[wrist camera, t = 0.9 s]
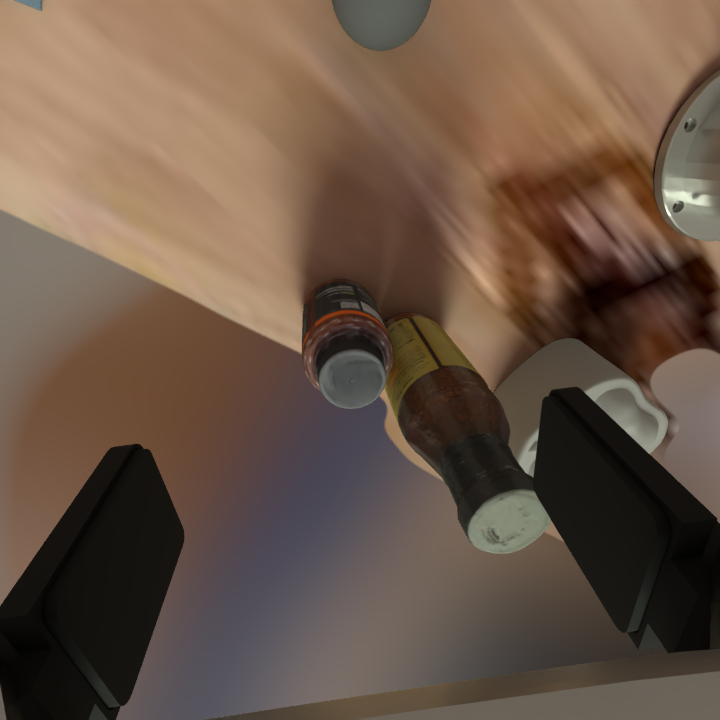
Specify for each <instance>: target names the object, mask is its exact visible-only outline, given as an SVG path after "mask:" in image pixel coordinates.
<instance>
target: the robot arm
mask: <svg viewBox="0 0 720 720" xmlns="http://www.w3.org/2000/svg"><path fill="white" fill-rule="evenodd" d="M654 189H655V198H656V202H657V205H658V209H659V211H660V213H661V215H662V216H663V218H664V220H665V221H666V222H667V223H668V224H669V225H670V226H671V227H672V228H673V230H675V231H677V232H679V233H680V234H682V235H684V236H687V237H691V238H694V239H698V240H704V241H720V69H719V70H718V71H717V72H715V73H714V74H712V75H711V76H710V77H708V78H707V79H706V80H705V81H704V82H703V83H702V84H701V85H700V86H699V87H698V88H697V89H696V90H695V91H694V92H693V93H692V94H691V96H690V97H689V98H688V99H687V101H686V102H685V103H684V104H683V106H682V107H681V108H680V110H679V111H678V113H677V115H676V116H675V118H674V119H673V121H672V123H671V124H670V126H669V128H668V130H667V133H666V135H665V137H664V139H663V142H662V144H661V147H660V151H659V154H658V158H657V161H656V167H655V176H654ZM533 487H534V491H535V493H536V496H537V497H538V499H539V501H540V502H541V504H542V506H543V507H544V509H545V511H546V512H547V514H548V516H549V517H550V519H551V521H552V522H553V524H554V525H555V527H556V529H557V530H558V532H559V534H560V535H561V537H562V539H563V540H564V542H565V544H566V545H567V547H568V548H569V550H570V552H571V553H572V555H573V557H574V558H575V560H576V561H577V563H578V565H579V567H580V568H581V570H582V572H583V573H584V575H585V576H586V578H587V580H588V581H589V583H590V585H591V586H592V588H593V590H594V591H595V593H596V595H597V596H598V598H599V599H600V601H601V603H602V604H603V606H604V608H605V609H606V611H607V613H608V614H609V616H610V617H611V619H612V621H613V623H614V624H615V625H616V627H617V628H618V629H619V630H620V631H621V632H623V633H625V632H627V633H628V634H629V636H630V637H631V639H632V641H633V642H634V644H635V645H636V647H637V649H638V650H640V649H647V648H653V647H660V646H664V648H665V649H666V651H667V652H668V653H667V654H659V655H651V656H643V657H635V658H626V659H618V660H610V661H602V662H594V663H586V664H580V665H572V666H565V667H558V668H551V669H544V670H537V671H530V672H523V673H516V674H509V675H502V676H495V677H488V678H480V679H473V680H467V681H459V682H453V683H446V684H439V685H432V686H425V687H418V688H411V689H404V690H398V691H391V692H384V693H378V694H371V695H364V696H357V697H350V698H343V699H337V700H330V701H323V702H316V703H310V704H303V705H297V706H289V707H283V708H276V709H270V710H263V711H257V712H250V713H243V714H237V715H230V716H224V717H217V718H211V719H204V720H720V523H718V522H717V518H716V517H715V516H714V515H713V514H712V513H711V512H710V511H709V510H708V509H707V508H706V507H705V506H704V505H702V504H701V503H700V502H699V501H698V500H697V499H696V498H695V497H694V496H693V495H692V494H691V493H690V492H689V491H688V490H687V489H686V488H685V487H684V486H682V485H681V484H680V483H679V482H678V481H677V480H676V479H675V478H674V477H673V476H672V475H671V474H670V473H669V472H668V471H667V470H666V469H665V468H664V467H663V466H661V465H660V464H659V463H658V462H657V461H656V460H655V459H654V458H653V457H652V456H651V455H650V454H649V453H648V452H647V451H646V450H645V449H644V448H643V447H641V446H640V445H639V444H638V443H637V442H636V441H635V440H634V439H633V438H632V437H631V436H630V435H629V434H628V433H627V432H626V431H625V430H624V429H623V428H621V427H620V426H619V425H618V424H617V423H616V422H615V421H614V420H613V419H612V418H611V417H610V416H609V415H608V414H607V413H606V412H605V411H604V410H603V409H602V408H600V407H599V406H598V405H597V404H596V403H595V402H594V401H593V400H592V399H591V398H590V397H589V396H588V395H587V394H586V393H585V392H584V391H583V390H582V389H580V388H579V387H568V388H560V389H553V390H551V391H550V393H549V396H546V397H544V398H543V401H542V407H541V416H540V424H539V433H538V442H537V450H536V459H535V467H534V476H533ZM183 543H184V530H183V527H182V524H181V522H180V520H179V517H178V515H177V513H176V510H175V508H174V505H173V503H172V500H171V498H170V496H169V493H168V491H167V489H166V486H165V484H164V482H163V479H162V477H161V474H160V472H159V470H158V467H157V465H156V463H155V460H154V458H153V456H152V453H151V451H150V450H149V449H143V447H142V446H141V445H140V444H132V445H125V446H117V447H112V448H110V449H109V450H108V451H107V453H106V454H105V456H104V457H103V459H102V460H101V462H100V463H99V465H98V466H97V468H96V469H95V470H94V472H93V473H92V475H91V476H90V477H89V479H88V480H87V482H86V483H85V485H84V486H83V488H82V489H81V490H80V492H79V493H78V495H77V496H76V498H75V499H74V501H73V502H72V503H71V505H70V506H69V508H68V509H67V511H66V512H65V514H64V515H63V517H62V518H61V519H60V521H59V522H58V524H57V525H56V527H55V528H54V529H53V531H52V532H51V534H50V535H49V537H48V538H47V540H46V541H45V542H44V544H43V545H42V547H41V548H40V550H39V551H38V552H37V554H36V555H35V557H34V558H33V560H32V561H31V563H30V564H29V565H28V567H27V568H26V570H25V571H24V573H23V574H22V576H21V577H20V579H19V580H18V581H17V583H16V584H15V586H14V587H13V588H12V590H11V591H10V593H9V594H8V596H7V597H6V599H5V600H4V602H3V603H2V604H1V606H0V720H116V718H117V715H118V712H119V709H120V706H124V705H125V704H126V703H127V702H128V700H129V699H130V697H131V694H132V692H133V689H134V686H135V683H136V680H137V677H138V674H139V671H140V668H141V666H142V663H143V660H144V657H145V654H146V651H147V648H148V645H149V642H150V640H151V637H152V634H153V631H154V628H155V625H156V622H157V619H158V616H159V613H160V611H161V607H162V604H163V601H164V599H165V596H166V593H167V590H168V587H169V584H170V581H171V579H172V575H173V572H174V570H175V566H176V564H177V561H178V558H179V555H180V552H181V549H182V547H183Z"/></svg>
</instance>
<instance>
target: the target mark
mask: <svg viewBox="0 0 720 720" xmlns="http://www.w3.org/2000/svg"><path fill="white" fill-rule="evenodd" d="M15 1H18V2H20V3H23V4H26V5H28V6H31V7H33V8H36V9H38V10H41V11H42V0H15Z"/></svg>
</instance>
